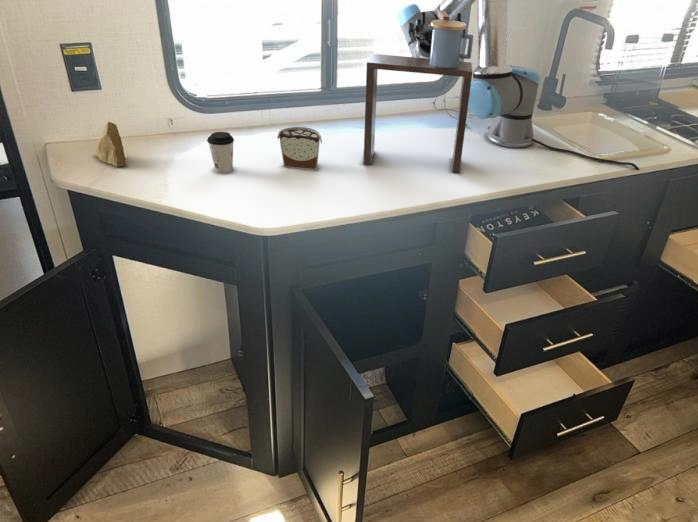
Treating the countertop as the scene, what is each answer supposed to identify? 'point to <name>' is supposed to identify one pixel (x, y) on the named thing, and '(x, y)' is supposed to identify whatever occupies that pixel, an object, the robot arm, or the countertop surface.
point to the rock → (111, 146)
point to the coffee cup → (221, 151)
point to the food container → (300, 147)
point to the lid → (447, 22)
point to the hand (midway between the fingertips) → (441, 18)
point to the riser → (418, 67)
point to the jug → (448, 47)
